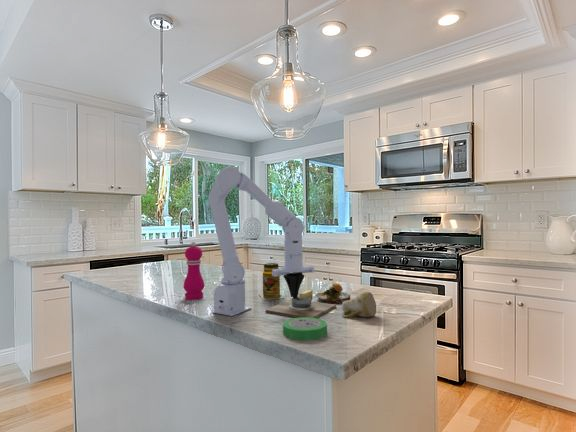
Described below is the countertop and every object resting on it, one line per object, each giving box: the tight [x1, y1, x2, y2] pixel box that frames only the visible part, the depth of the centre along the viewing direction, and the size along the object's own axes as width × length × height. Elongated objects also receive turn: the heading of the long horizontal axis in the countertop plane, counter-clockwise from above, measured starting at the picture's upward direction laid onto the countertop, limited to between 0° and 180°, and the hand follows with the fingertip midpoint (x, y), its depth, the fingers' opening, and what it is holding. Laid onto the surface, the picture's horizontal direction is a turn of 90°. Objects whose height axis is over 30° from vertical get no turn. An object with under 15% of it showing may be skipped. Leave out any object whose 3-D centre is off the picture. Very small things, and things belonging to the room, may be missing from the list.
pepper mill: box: [183, 241, 205, 301], centre depth 131 cm, size 7×7×20 cm
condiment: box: [259, 262, 285, 301], centre depth 132 cm, size 7×8×12 cm
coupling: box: [291, 289, 313, 308], centre depth 115 cm, size 9×6×4 cm, turn 149°
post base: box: [265, 298, 337, 319], centre depth 114 cm, size 16×16×1 cm
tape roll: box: [282, 317, 328, 341], centre depth 93 cm, size 11×11×3 cm
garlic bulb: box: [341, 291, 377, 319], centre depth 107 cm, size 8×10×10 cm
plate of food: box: [315, 279, 351, 304], centre depth 127 cm, size 12×12×8 cm
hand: (294, 296), depth 118 cm, fingers closed
